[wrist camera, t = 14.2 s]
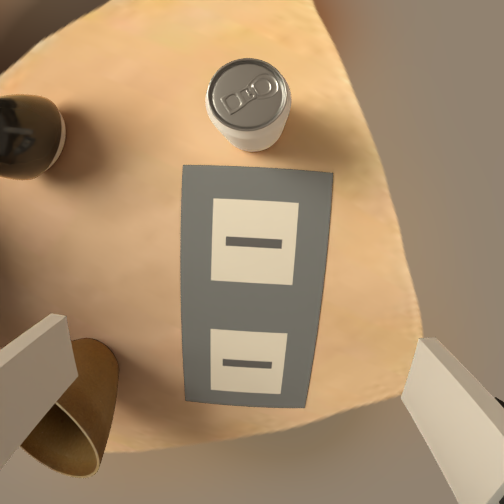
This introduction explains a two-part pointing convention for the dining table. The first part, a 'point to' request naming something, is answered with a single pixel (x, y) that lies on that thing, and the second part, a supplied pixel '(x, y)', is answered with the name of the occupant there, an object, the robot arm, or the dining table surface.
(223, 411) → the dining table surface
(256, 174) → the label panel
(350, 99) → the dining table surface
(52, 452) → the plant pot
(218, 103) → the can
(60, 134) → the pump dispenser
